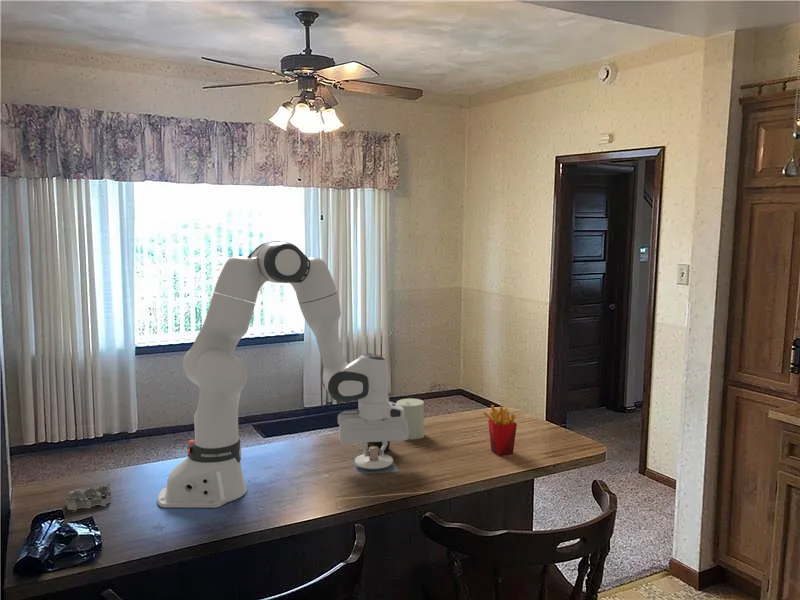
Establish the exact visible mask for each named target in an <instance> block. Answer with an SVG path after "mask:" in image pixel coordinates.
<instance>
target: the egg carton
mask: <svg viewBox="0 0 800 600" xmlns="http://www.w3.org/2000/svg"><path fill="white" fill-rule="evenodd" d="M102 495H106V496H105V498H103V497H102V498H101V496H102ZM88 497H91V499H87V498H88ZM108 502H111V503H112V486H111V483H108V484H105V485H102V486H98V487H96V486H95V485H94V486H93V487H87V488H75V489H72V490H70V491H69V492H68V493H67V496H66V498H65V503H66V508H67V509H72V510H76V509H77V508H79V507H84V506H85V507H87V508H88V507H92V506H93V505H95V504H101V505H106V504H107V503H108ZM106 506H107V505H106Z"/></svg>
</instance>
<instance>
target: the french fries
mask: <svg viewBox="0 0 800 600" xmlns="http://www.w3.org/2000/svg"><path fill="white" fill-rule="evenodd" d="M490 408H491V411H490V412H489V413H487V412H486V411H485V410H483V412H482V414H483V415H484V416H485V417H486V418H488V419H487V420H488V421H487V422H488V432H489V441H490V450H491V452H492V453H493V454H495V455H496V456H498V457H504V456H510V455H513V454H514V450H515V449H514V448H515V442H516V434H517V425H518V424H517V423H516V422H515V419H516V418H517V416H516V414H515V413H511V415H510V411H509V410H508V407H504V408H503V406H501V405H500V406H499V410H498V409H496V408H495V405H494V404H491V405H490ZM489 414H490V415H489Z"/></svg>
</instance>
